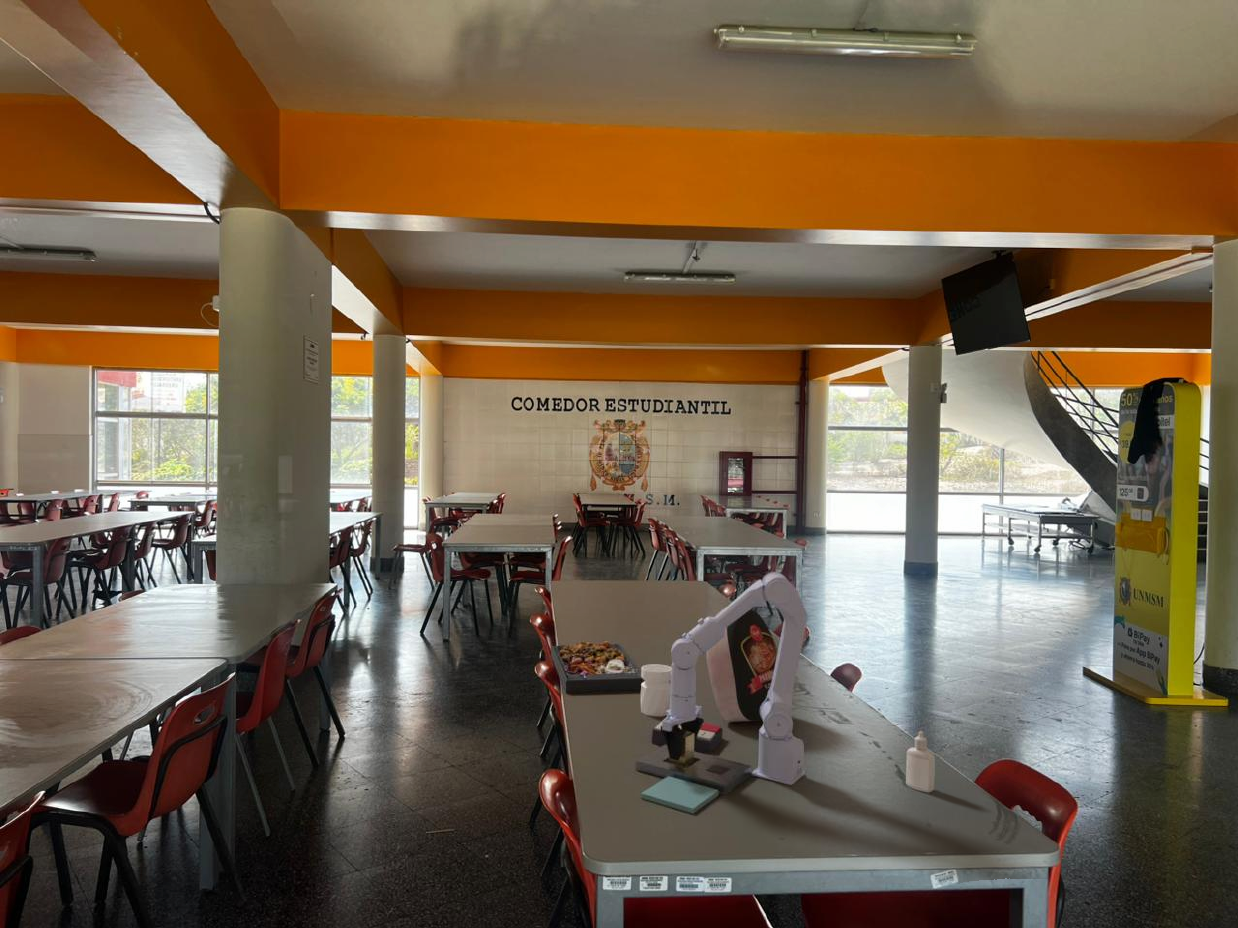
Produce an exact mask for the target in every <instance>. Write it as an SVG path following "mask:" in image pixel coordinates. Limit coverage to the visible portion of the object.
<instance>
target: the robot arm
mask: <svg viewBox="0 0 1238 928" xmlns="http://www.w3.org/2000/svg"><path fill="white" fill-rule="evenodd" d="M767 602H768V603H769V604H771V605H772V606H773V607H774V608H776V609H777V610H778V612H779V613H780V614H781V615H782V617H783V618H784V619H783V624H782V629H781V633H780V638H779V644H778V648H777V650H778V653H777V658H776V663H775V668H774V673H773V678H772V683H771V687H770V689H769V691H768V694H767V698H766V700H765V701H764V702H763V703H762V705H761V707H760V716H761V718H762V720H761V721H762V722H763V723H762V726H761V727H760V728H759V730H758V763H757V764H758V765H757V766H758V767H757V768H755V769H754V770H753V771H752V773H751V776H755V777H758V778H761V779H765V780H770V781H774V782H777V783H780V784H781V783H782V784H786V785H789V786H793V784H795V783H796V782H797V781H799V779H801V778H802V777H803V776H804V775H805V771H804V765H805V764H804V763H805V762H804V760H805V746H804V744H805V743H804V741H803V739H801V738H797V737H795V735H793V727H794V722H793V721H794V720H793V717H792V710H793V692H794V687H795V682H796V677H797V672H798V667H799V661H800V657H801V651H802V648H803V643H804V638H805V631H806V627H807V622H808V613H807V610H806V608H805V606H804V603H803V601H802V599H801V596H800V593H799V590H798V589H797V588H796V587H795V586H794V585H793V584H792V583H791V582H790V581H789V579H788V578H787V577H786V576H785V575H784V574H782V573H780V572H777V571H773V572H772V571H771V572H768V573H767V574H765V575H763V578H762V579H759V580H756V581H755V582H754V583H753V584H751V585H750V586H749V587H748V588H746V589H745V590H744V591H743V592H742V593H741V594H740V595H739V596H737V597H736V599H734V600H733V601H732V602H730V604H729V605H728V606H726V607H727V608H726V607H724V608H725V609H724V608H723V609H724V610H723V609H722V610H723V611H722V612H721V613H720V614H719V615H718V616H717V617H715V616H706V617H705V618H703V617H701V618H700V619H698V621H697V622H698V623H697V625H696V626H694V627H693V628H692V629H690V631H688V632H687V633H686V632H684V633H683V634H682V635H681V636H682V638H679V639H677V640H675V641H674V643H672V646H671V649H670V657H671V661H672V663H671V666H670V667H671V669H672V672H671V680H670V684H671V689H670V709H669V710H667V711H666V714H667V715H666V716H665V718H666V719H665V718H664V719H665V720H664V719H663V721H662V720H661V721H662V726H661V732H662V734H663V736H664V738H665V740H666V743H667V747H668V752H669V756H670V759H674V760H679V759H680V755H681V746H682V741H683V738H684V735H685V733H686V731H688V732H693V733H694V747H695V743H696V739H697V736H698V733H699V730H700V728H701V726H702V725H703V723H705V722H704V721H705V719H704V718H702V717H700V716H702V712H703V711H702V708H703V707H702V706H701V705H697V704H696V703H697V701H696V700H697V672H696V665H697V663H698V660H699V656H701V655H702V656H703V655H704V654H705V653H706V652H707V651H708V650H709V649H710V648H711V647H713V646H714V645H715V644H716V643H717V642H719V641H720V640H721V639H722V638H723V637H724V635H725V628H726V627H728V626H729V625H730V624H732V623H733V622H734V621H736V620H737V619H738V618H740V617H741V616H742V615H743V614H745V613H746V612H747V611H749V610H750V609H753V608H760V607H761V608H762V607H768V605H767ZM679 725H681V728H682V729H680V727H679Z"/></svg>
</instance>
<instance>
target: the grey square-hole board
mask: <svg viewBox="0 0 1238 928" xmlns="http://www.w3.org/2000/svg"><path fill="white" fill-rule="evenodd" d="M752 768H753V766H752V765H750V764H745V763H742V762H737V761H733V760H729V759H726V758H722V757H717V756H713V755H709V754H706V753H705V754H704V753H702V752H699V751H694V764H693V765H691V766H689V767H688V768H686V767H682V766H678V765H675V764H671V763H669V752H668V747H667V745H666V744H665V745H661V746H659V747H658V748H657V749H655V750H653V751H651V752H648V753H647V754H645V755H644V756H642V757H640V758H638V759H636V760H635V770H636V771H639V772H643V773H646V774H649V775H653V776H657V777H660V778H663V779H665V778H666V777H668V776H669V777H673V778H677V779H680V780H684V781H687V782H691V783H695V784H698V785H702V786H706V787H709V788H713V789H716V790H719V794H721V795H727V794H728V793H730V792H731V791H732V790H733V789H734V788H736V787H737V786H739V785H740V784H741V783H743V782H745V780H747V779H748V778H750V777H751V776H752V775H751V773H752V772H753V771H752V770H753V769H752Z"/></svg>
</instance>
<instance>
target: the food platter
mask: <svg viewBox="0 0 1238 928" xmlns="http://www.w3.org/2000/svg"><path fill="white" fill-rule="evenodd" d="M551 659H552V662H553V664H554V667H555V669H556V671H557V674H558V677H559V679H560V682H561V685H562V687H563V689H564V692H565V694H590V693H591V694H592V693H593V694H595V693H597V694H598V693H599V694H600V693H628V692H629V693H630V692H631V693H632V692H633V693H634V692H641V684H642V683H643V682H644V681H645V680H644V679H643V678H642V677H641V668H639V667H638V665H637V664H636V663H635V661H634V660H633V659H632V658H631V656H630V655H629V654H628V652H627V651H626V650H625V649H624V647H623V646H622V645H621V644H618V643H613V644H610V641H608V640H605V641H602V642H601V644H593V642H591V641H589V642H585V641H584V640H581V641H580V642H579V643H578V642H576V643H575V644H565V645H551Z"/></svg>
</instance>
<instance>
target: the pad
mask: <svg viewBox="0 0 1238 928" xmlns="http://www.w3.org/2000/svg"><path fill="white" fill-rule="evenodd" d="M719 794H720V793H719V790H716V789H713V788H709V787H706V786H702V785H698V784H695V783H691V782H687V781H684V780H680V779H677V778H673V777H669V776H668V777H666V778H663V779H662V780H660V781H658V782H656V783H655V784H654V785H652V786H650V787H649V788H647V789H646V790H644V791H643V792H641V793H640V799H642V800H646V801H650V802H651V803H656V804H659V805H662V806H666V807H668V808H672V809H675V810H679V811H683V812H684V813H689V814H692V815H693V814H695V813H696V812H698V811H699V810H701V809H702V808H703V807H704V806H706V805H707V804H708V803H710V802H711V801H713V800H714V799H716V798H717V797H718V796H719Z"/></svg>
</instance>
